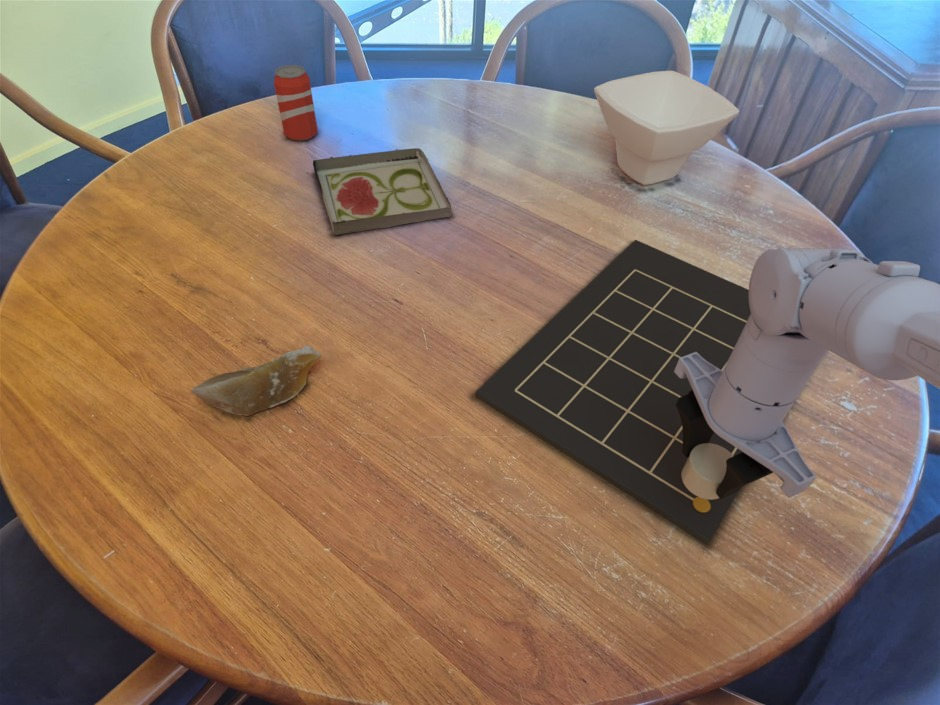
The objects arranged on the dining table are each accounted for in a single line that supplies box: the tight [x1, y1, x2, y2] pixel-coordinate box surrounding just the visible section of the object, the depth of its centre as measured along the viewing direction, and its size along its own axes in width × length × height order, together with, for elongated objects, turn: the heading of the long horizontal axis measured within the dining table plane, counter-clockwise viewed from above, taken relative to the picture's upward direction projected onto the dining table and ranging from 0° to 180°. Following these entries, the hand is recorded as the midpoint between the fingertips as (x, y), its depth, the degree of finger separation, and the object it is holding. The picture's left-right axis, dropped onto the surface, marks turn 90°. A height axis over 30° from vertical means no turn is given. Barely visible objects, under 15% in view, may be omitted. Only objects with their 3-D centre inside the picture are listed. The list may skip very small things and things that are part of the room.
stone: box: [190, 345, 322, 417], centre depth 72 cm, size 7×6×15 cm
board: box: [475, 239, 751, 546], centre depth 79 cm, size 40×30×1 cm
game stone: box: [681, 443, 733, 500], centre depth 59 cm, size 4×4×3 cm
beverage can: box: [273, 64, 318, 142], centre depth 113 cm, size 6×6×12 cm
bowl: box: [593, 70, 740, 186], centre depth 106 cm, size 19×19×14 cm
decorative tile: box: [312, 147, 452, 236], centre depth 104 cm, size 20×3×20 cm
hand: (709, 471), depth 59 cm, fingers closed on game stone, 4 cm apart
